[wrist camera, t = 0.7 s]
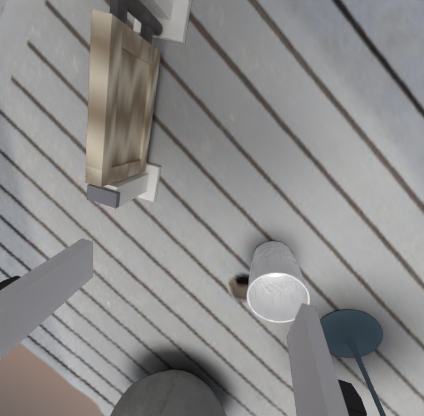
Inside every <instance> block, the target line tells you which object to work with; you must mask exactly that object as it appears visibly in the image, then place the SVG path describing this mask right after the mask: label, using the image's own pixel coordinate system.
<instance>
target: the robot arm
mask: <svg viewBox="0 0 424 416" xmlns="http://www.w3.org/2000/svg"><path fill="white" fill-rule="evenodd" d="M92 277H93V242H92V241H89V240H85V239H81V240H79V241H77V242H76V243H74V244H73V245H71V246H70V247H68V248H66V249H65V250H63V251H62V252H60V253H58V254H57V255H55V256H54V257H52V258H51V259H49V260H47V261H46V262H44V263H43V264H41V265H40V266H38V267H36V268H35V269H33V270H32V271H30V272H28V273H27V274H25V275H24V276H22V277H19V276H15V277H12V278H9V279H7V280H4V281H2V282H0V360H1V359H2V358H3V357H4V356H6V355H7V354H8V353H9V352H10V351H11V350H12V349H13V348H14V347H15V346H17V345H18V344H19V343H20V342H21V341H22V340H23V339H24V338H26V337H27V336H28V335H29V334H30V333H31V332H32V331H33V330H34V329H35V328H37V327H38V326H39V325H40V324H41V323H42V322H43V321H44V320H45V319H47V318H48V317H49V316H50V315H51V314H52V313H53V312H54V311H55V310H57V309H58V308H59V307H60V306H61V305H62V304H63V303H64V302H65V301H67V300H68V299H69V298H70V297H71V296H72V295H73V294H74V293H75V292H76V291H78V290H79V289H80V288H81V287H82V286H83V285H84V284H85V283H86V282H88V281H89V280H90V279H91V278H92ZM287 342H288V350H289V358H290V366H291V374H292V382H293V390H294V398H295V406H296V414H297V416H367V413H366V410H365V407H364V405H363V402H362V399H361V397H360V396H359V394H358V393H357V391H356V390H355V388H354V387H353V385H352V384H351V383H348V382H345V381H342V380H339V379H338V378H337V375H336V372H335V369H334V365H333V362H332V359H331V355H330V352H329V349H328V346H327V342H326V339H325V336H324V333H323V329H322V326H321V323H320V320H319V316H318V313H317V310H316V307H314V306H311V305H308V304H304V303H302V304H301V306H300V308H299V311H298V313H297V315H296V317H295V320H294V322H293V324H292V326H291V329H290V331H289V333H288V335H287Z"/></svg>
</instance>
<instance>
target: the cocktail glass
mask: <svg viewBox="0 0 424 416" xmlns="http://www.w3.org/2000/svg"><path fill="white" fill-rule="evenodd" d="M320 323H321V326H322V329H323V333H324V336H325V339H326V342H327V346H328V349H329V352H330V353H331V354H333V355H336V356H339V357H346V358H355V359H356V361H357V363H358V365H359V367H360V370H361V372H362V374H363V376H364V379H365V381H366V383H367V385H368V388H369V390H370V392H371V395H372V397H373V399H374V402H375V404H376V406H377V408H378V411H379V413H380V416H386V415H385V412H384V410H383V408H382V406H381V403H380V401H379V399H378V397H377V394H376V392H375V390H374V387H373V385H372V383H371V381H370V378H369V376H368V374H367V371H366V369H365V367H364V364H363V362H362V359H361V356H364V355H367V354H369V353H371V352H373V351H374V350H375V349H376V348H377V347H378V346H379V345H380V343H381V341H382V337H383V333H382V329H381V326H380V325H379V323H378V322H377V321H376V320H375V319H374V318H373V317H372V316H370V315H368V314H366V313H364V312H361V311H357V310H339V311H335V312H332V313H329V314H328V315H326V316H324V317H323V318H322V319H321V320H320Z"/></svg>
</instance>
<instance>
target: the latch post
mask: <svg viewBox="0 0 424 416" xmlns="http://www.w3.org/2000/svg"><path fill="white" fill-rule="evenodd" d="M160 173H161V167H160V166H157V165H153V164H150V163H146V168H145V171H144V172H141V173H138V174H136V175H133V176H130V177H127V178H125V179H122V180H119V181H117V182H114V183H111V184H109V185H106V186H103V187H98V186H95V185H92V184H89V185H87V200H90V201H93V202H95V203H98V204H101V205H104V206H108V207H111V208H114V209H116V208H118V207H119V206H121V205H123V204H125V203H127V202H128V201H130V200H132V199H134V198H136V197H138V198H142V199H145V200H148V201H152V202H155V201H156V198H157V191H158V185H159V179H160Z"/></svg>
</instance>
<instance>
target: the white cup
mask: <svg viewBox="0 0 424 416" xmlns="http://www.w3.org/2000/svg"><path fill="white" fill-rule="evenodd" d="M247 301H248V304H249V306H250V308H251V309H252V311H253V312H254V313H255V314H257V315H258V316H259V317H261V318H263V319H265V320H267V321H271V322H276V323H285V322H290V321H293V320H295V317H296V315H297V313H298V311H299V308H300V306H301V304H302V303H304V304H308V305H309V303H310V296H309V292H308V289H307V287H306V284H305V282H304V279H303V276H302V274H301V271H300V268H299V266H298V264H297V262H296V260H295V258H294V255H293V253H292V252H291V250H290V248H289V247H288V246H286V245H284V244H283V243H281V242H276V241H269V242H265V243H262V244H261V245H260V246H258V247H257V248H256V250H255V252H254V254H253V258H252V263H251V269H250V274H249V282H248V290H247Z"/></svg>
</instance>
